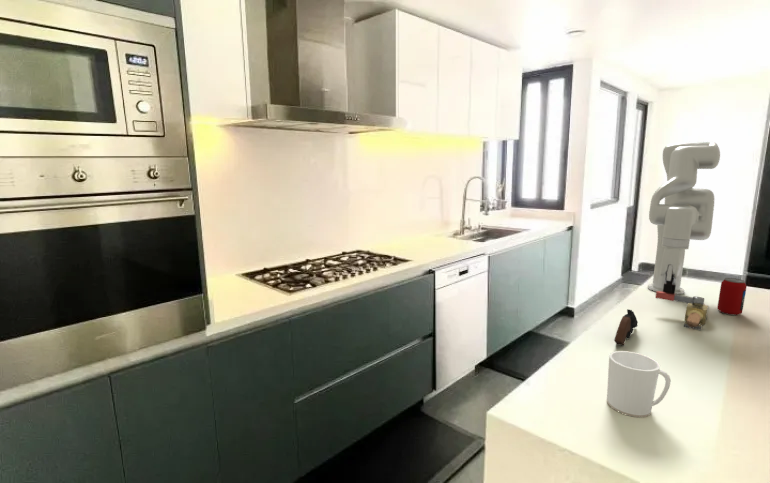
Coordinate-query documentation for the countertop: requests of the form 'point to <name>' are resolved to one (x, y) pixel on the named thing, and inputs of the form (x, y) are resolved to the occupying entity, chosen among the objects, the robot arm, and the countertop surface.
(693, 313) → the pipework
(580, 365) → the countertop surface
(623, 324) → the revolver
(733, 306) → the beverage can
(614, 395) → the mug
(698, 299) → the lever
